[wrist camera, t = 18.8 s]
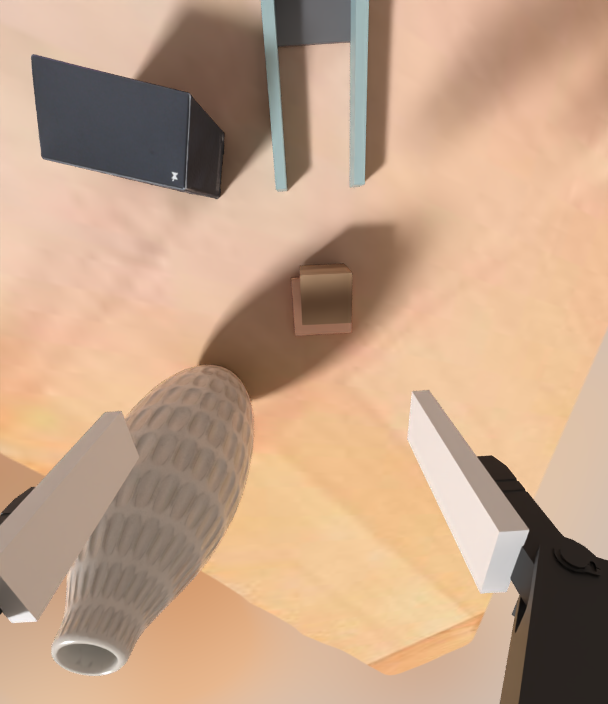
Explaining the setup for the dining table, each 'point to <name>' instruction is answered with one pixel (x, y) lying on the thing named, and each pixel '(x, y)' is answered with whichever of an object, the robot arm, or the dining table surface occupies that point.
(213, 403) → the vase
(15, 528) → the robot arm
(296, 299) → the tile
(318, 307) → the block
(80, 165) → the small box
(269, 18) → the channel
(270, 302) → the dining table surface
